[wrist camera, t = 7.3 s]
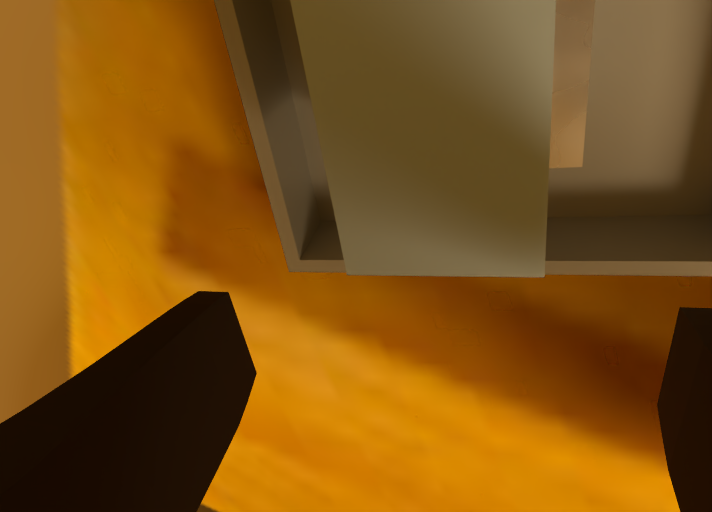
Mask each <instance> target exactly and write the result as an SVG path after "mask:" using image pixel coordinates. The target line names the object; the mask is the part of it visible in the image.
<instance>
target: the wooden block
mask: <svg viewBox="0 0 712 512" xmlns="http://www.w3.org/2000/svg"><path fill="white" fill-rule="evenodd" d="M594 10H595V0H556V14H555V38H554V62H553V87H552V111H551V135H550V159H549V168H569V167H582V164H583V151H584V139H585V126H586V113H587V100H588V87H589V75H590V62H591V49H592V36H593V23H594Z"/></svg>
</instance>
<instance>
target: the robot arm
mask: <svg viewBox="0 0 712 512" xmlns="http://www.w3.org/2000/svg"><path fill="white" fill-rule="evenodd" d="M256 374H257V373H256V370H255V367H254V364H253V361H252V358H251V356H250V353H249V350H248V347H247V344H246V341H245V338H244V336H243V333H242V330H241V327H240V324H239V321H238V318H237V315H236V313H235V310H234V307H233V304H232V301H231V298H230V295H229V293H228V292H208V291H198V292H196V293H195V294H193V295H192V296H190V297H188V298H187V299H185V300H183V301H182V302H180V303H179V304H177V305H176V306H174V307H173V308H171V309H170V310H169V311H167V312H166V313H164V314H163V315H161V316H160V317H159V318H157V319H156V320H154V321H153V322H151V323H150V324H149V325H147V326H146V327H144V328H143V329H142V330H140V331H139V332H137V333H136V334H135V335H133V336H132V337H130V338H129V339H127V340H126V341H125V342H123V343H122V344H120V345H119V346H117V347H116V348H115V349H113V350H112V351H110V352H109V353H108V354H106V355H105V356H103V357H102V358H100V359H99V360H98V361H96V362H95V363H93V364H92V365H90V366H89V367H88V368H86V369H85V370H83V371H81V372H80V373H78V374H77V375H75V376H74V377H72V378H71V379H69V380H68V381H66V382H65V383H63V384H62V385H60V386H59V387H57V388H56V389H54V390H53V391H51V392H50V393H48V394H47V395H45V396H44V397H42V398H41V399H39V400H37V401H36V402H34V403H33V404H32V405H30V406H29V407H27V408H25V409H24V410H22V411H21V412H19V413H17V414H15V415H14V416H12V417H11V418H9V419H7V420H6V421H4V422H2V423H1V424H0V512H196V511H197V510H198V508H199V506H200V504H201V502H202V500H203V498H204V496H205V494H206V492H207V490H208V488H209V486H210V484H211V482H212V480H213V478H214V476H215V474H216V472H217V470H218V468H219V466H220V464H221V461H222V459H223V457H224V455H225V453H226V451H227V449H228V447H229V445H230V443H231V441H232V439H233V437H234V435H235V433H236V430H237V428H238V426H239V424H240V421H241V418H242V416H243V413H244V410H245V407H246V405H247V402H248V399H249V396H250V392H251V389H252V386H253V383H254V380H255V377H256ZM657 406H658V412H659V419H660V425H661V431H662V438H663V443H664V449H665V455H666V460H667V466H668V471H669V474H670V478H671V481H672V485H673V488H674V492H675V495H676V498H677V502H678V505H679V508H680V512H712V308H683V307H680V309H679V313H678V317H677V321H676V326H675V330H674V334H673V339H672V343H671V347H670V352H669V356H668V360H667V365H666V369H665V373H664V378H663V382H662V386H661V391H660V395H659V399H658V404H657Z"/></svg>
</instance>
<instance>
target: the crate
mask: <svg viewBox="0 0 712 512" xmlns="http://www.w3.org/2000/svg"><path fill="white" fill-rule="evenodd" d="M214 2H215V6H216V10H217V13H218V17H219V20H220V24H221V28H222V31H223V35H224V38H225V42H226V46H227V49H228V53H229V56H230V60H231V64H232V67H233V71H234V74H235V78H236V82H237V85H238V89H239V92H240V96H241V100H242V103H243V107H244V110H245V114H246V118H247V121H248V125H249V128H250V132H251V136H252V139H253V143H254V146H255V150H256V154H257V157H258V161H259V164H260V168H261V172H262V175H263V179H264V182H265V186H266V190H267V193H268V197H269V200H270V204H271V208H272V211H273V215H274V218H275V222H276V226H277V229H278V233H279V236H280V240H281V244H282V247H283V251H284V254H285V258H286V262H287V265H288V269H289V272H346V268H345V263H344V258H343V253H342V248H341V243H340V239H339V234H338V229H337V224H336V219H335V214H334V210H333V205H332V200H331V195H330V190H329V185H328V180H327V176H326V171H325V166H324V161H323V156H322V151H321V147H320V142H319V137H318V132H317V127H316V122H315V118H314V113H313V108H312V103H311V98H310V93H309V88H308V84H307V79H306V74H305V69H304V64H303V59H302V55H301V50H300V45H299V40H298V35H297V30H296V26H295V21H294V16H293V11H292V6H291V1H290V0H214ZM545 275H636V276H712V0H595V10H594V23H593V36H592V49H591V62H590V75H589V87H588V100H587V113H586V126H585V139H584V151H583V164H582V167H569V168H549V183H548V207H547V231H546V255H545Z"/></svg>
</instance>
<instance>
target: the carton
mask: <svg viewBox="0 0 712 512" xmlns="http://www.w3.org/2000/svg"><path fill="white" fill-rule="evenodd" d="M290 1H291V6H292V11H293V16H294V21H295V26H296V30H297V35H298V40H299V45H300V50H301V55H302V59H303V64H304V69H305V74H306V79H307V84H308V88H309V93H310V98H311V103H312V108H313V113H314V118H315V122H316V127H317V132H318V137H319V142H320V147H321V151H322V156H323V161H324V166H325V171H326V176H327V180H328V185H329V190H330V195H331V200H332V205H333V210H334V214H335V219H336V224H337V229H338V234H339V239H340V243H341V248H342V253H343V258H344V263H345V268H346V272H347V275H383V276H467V277H545V255H546V231H547V207H548V183H549V159H550V135H551V111H552V87H553V62H554V38H555V14H556V0H290Z"/></svg>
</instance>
